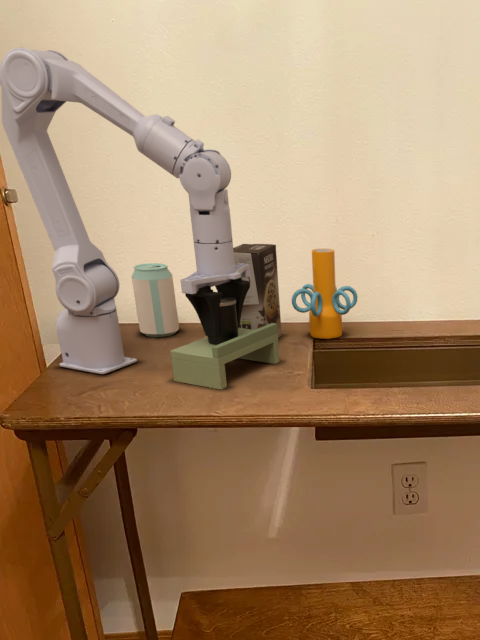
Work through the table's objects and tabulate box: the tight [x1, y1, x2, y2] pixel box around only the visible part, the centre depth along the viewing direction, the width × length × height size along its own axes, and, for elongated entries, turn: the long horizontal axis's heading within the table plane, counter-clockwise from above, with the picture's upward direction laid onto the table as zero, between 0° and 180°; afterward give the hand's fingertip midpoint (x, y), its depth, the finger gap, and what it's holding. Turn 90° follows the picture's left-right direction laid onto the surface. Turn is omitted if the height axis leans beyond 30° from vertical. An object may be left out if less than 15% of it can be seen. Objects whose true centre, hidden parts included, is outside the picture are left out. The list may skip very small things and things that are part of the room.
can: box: [131, 262, 180, 338], centre depth 145 cm, size 7×7×12 cm
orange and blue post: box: [291, 248, 358, 340], centre depth 144 cm, size 12×10×15 cm
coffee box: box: [233, 243, 283, 339], centre depth 140 cm, size 9×6×16 cm
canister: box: [207, 296, 239, 345], centre depth 124 cm, size 5×5×6 cm
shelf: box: [169, 323, 281, 390], centre depth 127 cm, size 9×16×6 cm, turn 155°
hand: (222, 331), depth 125 cm, fingers closed on canister, 5 cm apart
